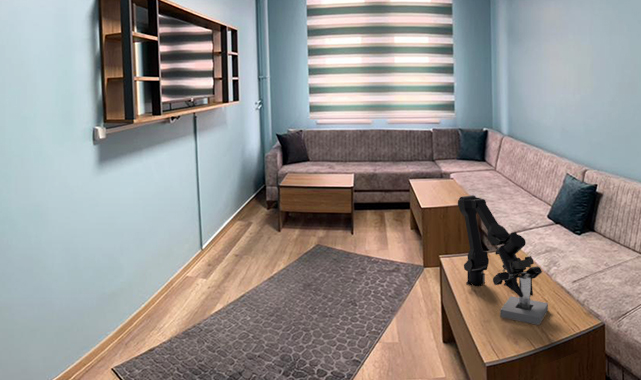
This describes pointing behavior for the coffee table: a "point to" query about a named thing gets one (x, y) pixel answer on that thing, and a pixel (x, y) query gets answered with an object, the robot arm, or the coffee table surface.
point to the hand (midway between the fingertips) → (526, 296)
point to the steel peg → (524, 292)
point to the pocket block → (524, 311)
